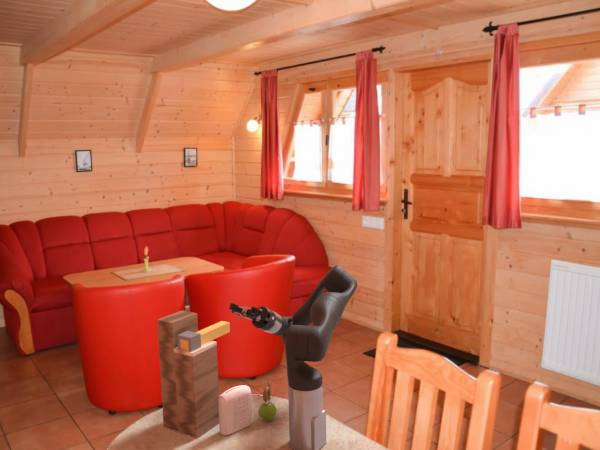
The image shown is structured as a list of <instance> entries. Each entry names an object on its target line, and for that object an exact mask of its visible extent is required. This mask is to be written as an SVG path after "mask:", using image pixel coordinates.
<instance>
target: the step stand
mask: <svg viewBox="0 0 600 450" xmlns="http://www.w3.org/2000/svg"><path fill="white" fill-rule="evenodd" d="M156 320H157V321H156V323H157V337H158V338H157V339H158V341H157V343H158V356H159V369H160V371H159V373H160V387H161V403H162V404H161V405H162V421H163V424H162V425H163V428H166V429H169V430H171V431H174V432H178V433H180V434H183V435H185V436H189V437H191V438H194V439H199V438H201V436H203V435H204V434H206V433H207V432H209V431H210V430H211V429H213V428H215V427H216V426H218V425H219V404H218V399H219V396H220V391H219V389H220V388H219V369H218V368H219V366H218V365H219V363H218V346H217V345H218V343H217V342H218V341H214V340H212V341H209V342H207V343H205V344H203V345H201V348H199V349H196V350H194V351H192V352H189V351H185V350H181V349H178V339H177V335H178V334H181V333H183V332H186V331H191V332H197V331H199V325H198V324H199V323H198V313H197V312H192V311H187V310H183V309H182V310H180V311H177V312H174V313H172V314H168V315H166V316H163V317H160V318H158V319H156Z"/></svg>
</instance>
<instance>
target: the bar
mask: <svg viewBox="0 0 600 450" xmlns="http://www.w3.org/2000/svg"><path fill="white" fill-rule="evenodd" d="M230 325H231V323H230V322H229V321H224V320H221V321H219V322H216V323H214V324H211V325H210V326H207V327H204V328H202V329H200V330H198V331H197V332H191V331H186V332H183V333H181V334H178V335H177V339H178V349H181V350H185V351H189V352H192V351H194V350H196V349H199V348H201V345H203V344H205V343H207V342H209V341H214V340H215V339H218V338H220V337H222V336H225V335H226V334H228V333H230V332H231V326H230Z"/></svg>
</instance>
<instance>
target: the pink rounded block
mask: <svg viewBox="0 0 600 450" xmlns="http://www.w3.org/2000/svg"><path fill="white" fill-rule="evenodd" d="M252 401H253V400H252V390H251V387H250V386H248V385H245V384H244V385H243V384H242V385H241V384H240V385H236V386H232V387H231V388H228V389H227V390H225V391H224V392H222V393H221V394H219V399H218V404H219V424H218V425H219V426H218V427H219V432H220V434H221V435H222V436H223V435H224V436H228V435H231V434H234V433H236V432H239V431H241V430H243V429H244V428H245V429H246V428H247V427H249V426H251V425H252V424H253V410H252V409H253V406H252V405H253V404H252Z"/></svg>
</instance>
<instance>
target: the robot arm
mask: <svg viewBox="0 0 600 450" xmlns="http://www.w3.org/2000/svg"><path fill="white" fill-rule="evenodd" d="M357 288H358V282H357V280H356V279H355V278H354V276H353V275H351V274H350V273H349V272H348V271H346V269H344V268H343V267H342V266H340V265H338V264H337V265H334V266H333V267H331V268H330V269H329V270H328V271H327V272H326V273H325V274H324V276H323V277H322V278H321V280H320V281H319V282H318V284H316V286H315V288H314V289H312V290H313V291H311V293H310V295H309V296H308V297H307V299H306V300H305V302H303V304H301V306H300V307H299V308H298V309H297V310H296V311H295V312H294V313H293V315H292V316H282V315H280V314H278V312H275V310H272V309H270V308H268V307H267V306H258V307H256V306H251V307H249V306H245V305H244V306H240V305H238V304H235V303H233V302H231V303H230V304H229V307H228V310H230V311H231V313H232V314H234V315H236V316H238V317H241V318H245V319H247V320H250V321H251V324H252V325H253V326H254V328H257V329H259V330H260V331H263V332H266V333H268V334H272V335H274V336H277V337H281V338H282V339H281V340H282V342H283V343H284V346H285V347H284V349H285V360H286V376H287V377H286V378H287V383H288V384H287V387H288V389H287V391H288V421H289V422H288V425H289V426H288V430H289V432H288V434H289V446H290V448H291V449H292V450H320V449H321V448H323V447H324V446H325V444H327V411H326V410H325V409H324V405H323V404H324V403H323V398H324V397H323V396H324V395H323V392H324V391H323V390H324V389H323V374H322V372H321V371H319V369H317V368H315V367H313V366H311V365H309V364H308V363H306V362H309V363H312V362H313V363H317V362H321V361H322V360H323V359H324V358H325V356H326V354H327V352H328V350H329V345H330V342H331V339H332V336H333V334H334V332H335V329H336V328H337V326H338V323H339V322H340V320H341V319H342V316H343V313H344V311H345V309H346V307H347V304H348V303H349V302H350V300H351V298H352V297H353V295H354V293H355V292H356V290H357ZM325 291H327V292H325Z"/></svg>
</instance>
